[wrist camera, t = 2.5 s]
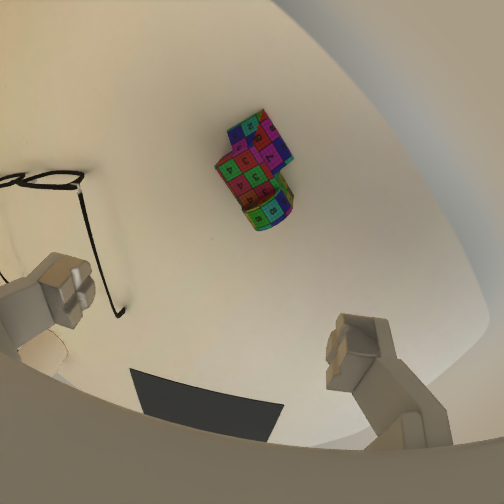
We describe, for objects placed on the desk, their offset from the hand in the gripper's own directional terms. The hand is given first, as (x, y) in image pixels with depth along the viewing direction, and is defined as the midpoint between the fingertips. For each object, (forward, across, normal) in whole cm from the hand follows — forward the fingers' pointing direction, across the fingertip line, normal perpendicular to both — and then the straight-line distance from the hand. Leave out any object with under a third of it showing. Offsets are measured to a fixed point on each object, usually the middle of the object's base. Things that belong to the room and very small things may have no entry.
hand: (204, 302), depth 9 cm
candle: (+13, +27, +29) cm, 41 cm away
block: (+13, 0, 0) cm, 13 cm away
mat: (+13, +3, +35) cm, 37 cm away
